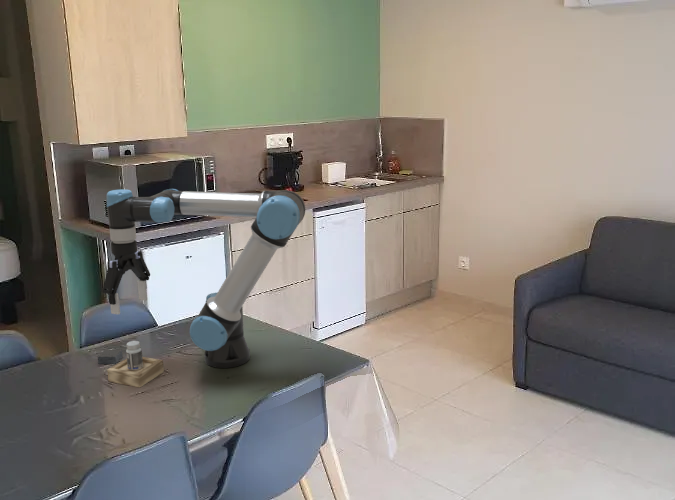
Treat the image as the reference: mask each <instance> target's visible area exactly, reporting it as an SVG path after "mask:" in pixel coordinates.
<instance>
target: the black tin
mask: <svg viewBox="0 0 675 500" xmlns="http://www.w3.org/2000/svg"><path fill="white" fill-rule="evenodd" d="M123 358H124V357H123V349H103V350H102V351H101V353H100V354H99V355H97V363H98V365H116V364H118V363H120V362H121V360H122V359H123Z"/></svg>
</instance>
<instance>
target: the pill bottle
mask: <svg viewBox="0 0 675 500" xmlns="http://www.w3.org/2000/svg"><path fill="white" fill-rule="evenodd" d="M125 353H126V359H127V366H128V369H129V370H133V371H134V370H139V369H141V368H143V359H142V357H143V350H142V347H141V342H140V341H138V340H130V341H128V342H127V343H126V350H125Z"/></svg>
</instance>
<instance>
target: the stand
mask: <svg viewBox="0 0 675 500" xmlns="http://www.w3.org/2000/svg"><path fill="white" fill-rule="evenodd" d="M142 359H143V368H141V369H139V370H134V371H133V370H129V369H128V366H127V358H125V359H124V360H122V361H121V360H120V361H119V362H118V363H117V364H113V366H111V367H110V368H107V370H106V371H107V379H108V382H110V383H114V384H119V385H125V386H131V387H135V388H141V387H143V386H144V385H146V384H148V383H149V382H151V381H152V380H154V379H155V378H157V377H159V376H160V375H162V374H163V373H164V372H165V371H164V370H165V369H164V360H163V359H158V358H152V357H147V356H146V357H145V356H142Z"/></svg>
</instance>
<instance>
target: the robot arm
mask: <svg viewBox="0 0 675 500" xmlns="http://www.w3.org/2000/svg"><path fill="white" fill-rule="evenodd" d="M106 208H107V211H106V212H107V217H108V227H109V239H110V241H111V242H110V248H111V254H112V255H113V256H114V260H108V261H107V268H106V274H105V279H104V283H103V286H102V287H103V288H102V294H105V295H106V294H107V295H108V303H109V305H110V313H111V315H112V314H113V315H118V316H119V315H120V314H121V306H120V298H119V293H118V289H119V285H120V284H121V282H122V281H121V280H122V278H123V275H125V274H126V272H128V271H129V270H130V271H131V272H132V273H133V274H134V275H135V276H136V277H137V279H138V280H137V282H136V283H137V293H138V301H142V302H143V301H145V302H146V301H148V293H147V288H148V287H147V286H148V285H147V281H149V280H150V276H151V273H150V269H149V268H148V266H147V264H146V261H145V259H144V257H143V252H142V251H140V250H138V245H137V244H138V243H137V240H136V239H137V233H136V232H137V231H136V223H158V224H161V223H169V222H171V221H172V220H173V218H174V216H175V215H176V216H177V215H180V216H181V215H182V216H183V215H186V216H208V217H210V216H211V217H212V216H213V217H232V218H233V217H235V218H238V217H239V218H254V220H253V222H252V224H251V226H250V230H251V236H250V237H249V239H248V241H247V243H246V244H245V246H244V247H243V249H242V251H241V252H240V253H239V256H238V257H237V259H236V261H235V263H234V264H233V266H232V267H231V269H230V271H229V272H228V274H227V277H225V279H224V281H223V282H222V285H221V286H220V287H219V290H218V291H217V292H213V293H212V292H211V293H208V294H207V295H206V296H205V297H206V300H205V303H204V305H203V307H202V308H201V310H200V311H199V313H198V314H197V317H195V318H194V319H193V320H192V322H191V324H190V327H189V336H190V339H191V340H192V343H193V344H194V345H195V346H197V348H198V349H201V350H203V351H204V355H203V356H204V363H205V364H206V365H208V366H210V367H212V368H219V369H220V368H221V369H229V368H235V367H238V366H242V365H244V364H246V363H247V362H249V360H250V359H251V351H250V348H249V346H248V343H247V341H246V338H245V334H244V333H245V332H244V315H243V313H244V311H243V307H244V304H245V302H246V301H247V299H248V298H249V295H250V294H251V293H252V291H253V289H254V287H255V286H256V285H257V283H258V281H259V280H260V278H261V276H262V275H263V273H264V271H265V270H266V268H267V266H268V265H269V263H270V262H271V260H272V258H273V256H274V255H275V253H276V251H277V250H278V249H283V248H285V247H286V246H287V243H288V242H289V240H290V238H291V237H292V236H293V234H294V232H295V231H296V230H297V227H298V226H299V225H300V224H301V223H302V222H303V220H304V218H305V215H306V205H305V202H304V199H303V198H302V197H301V196H300V195H299V194H298V193H296V192H295V191H293V190H287V189H283V190H263V191H262V192H261V193H252V192H251V193H249V192H246V193H245V192H219V191H193V190H189V191H187V190H185V191H184V190H183V191H182V190H178V189H176V188H169V189H164V190H162V191H160V192H159V193H156V194H154V195H151V196H139V197H138V196H134V195H133V191H132V190H130V189H126V188H125V189H112V190H109V191H108V192H107V193H106Z"/></svg>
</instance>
